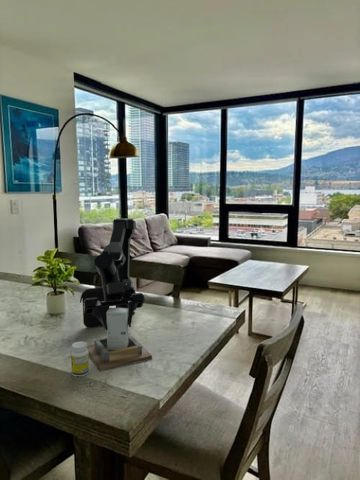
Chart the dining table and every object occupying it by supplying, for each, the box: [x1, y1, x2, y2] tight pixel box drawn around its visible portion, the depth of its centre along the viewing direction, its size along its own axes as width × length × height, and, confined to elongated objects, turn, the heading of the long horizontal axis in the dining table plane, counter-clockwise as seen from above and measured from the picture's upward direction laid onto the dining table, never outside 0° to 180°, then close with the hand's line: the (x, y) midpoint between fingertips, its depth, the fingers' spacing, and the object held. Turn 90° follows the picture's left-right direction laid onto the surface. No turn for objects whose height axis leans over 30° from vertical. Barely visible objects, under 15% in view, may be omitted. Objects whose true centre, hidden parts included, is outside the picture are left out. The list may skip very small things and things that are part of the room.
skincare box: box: [106, 307, 129, 350], centre depth 110 cm, size 6×4×12 cm
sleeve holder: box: [87, 332, 153, 372], centre depth 111 cm, size 16×16×4 cm
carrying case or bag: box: [79, 286, 110, 329], centre depth 132 cm, size 11×3×15 cm, turn 115°
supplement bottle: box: [70, 340, 90, 377], centre depth 99 cm, size 5×5×8 cm
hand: (118, 328), depth 109 cm, fingers closed on skincare box, 7 cm apart
